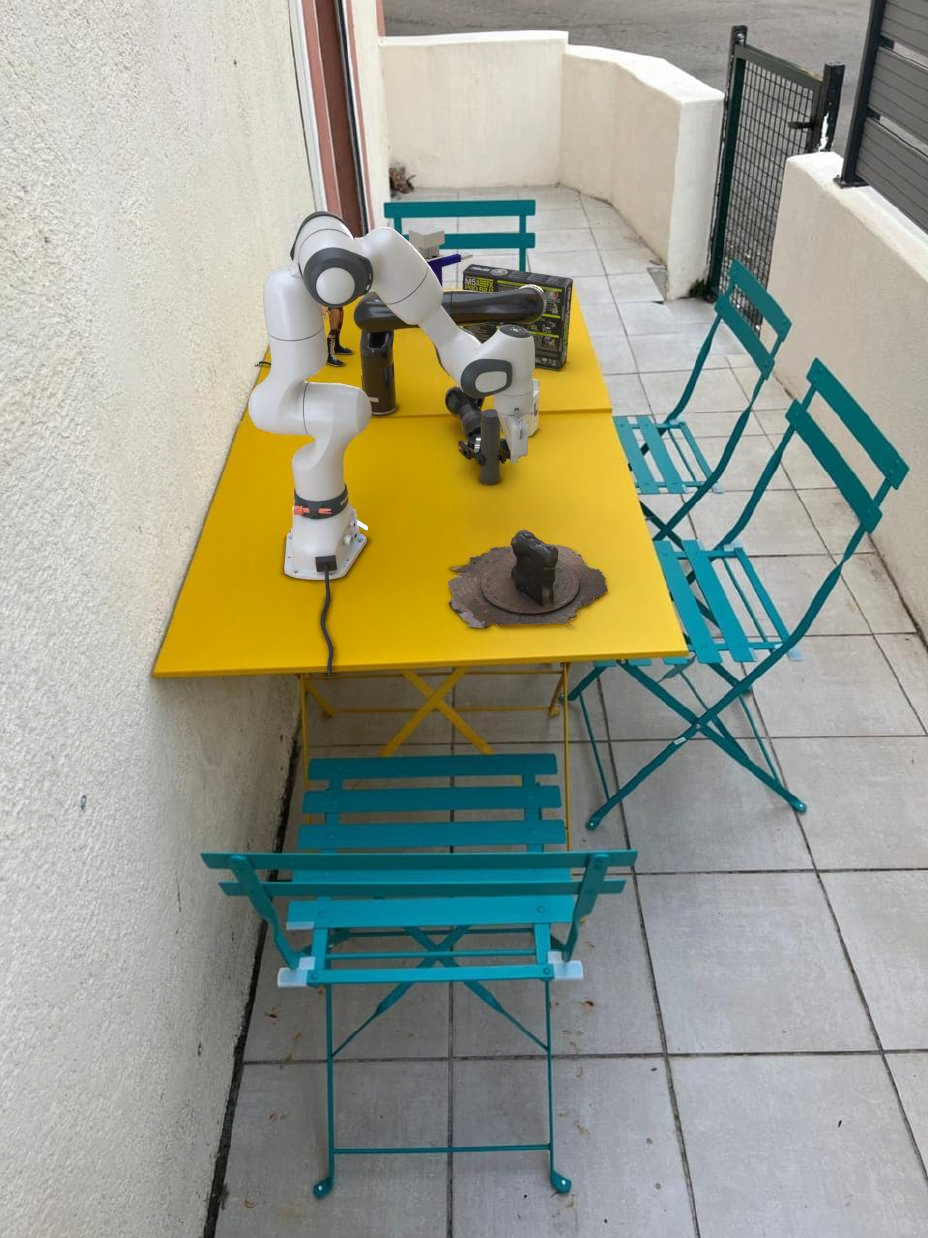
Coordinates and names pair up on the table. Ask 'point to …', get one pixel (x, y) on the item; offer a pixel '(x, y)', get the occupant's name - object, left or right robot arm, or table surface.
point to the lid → (504, 450)
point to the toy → (433, 248)
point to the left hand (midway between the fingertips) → (511, 453)
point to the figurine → (335, 334)
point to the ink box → (533, 410)
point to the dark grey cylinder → (490, 447)
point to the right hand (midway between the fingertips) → (492, 461)
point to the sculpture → (524, 584)
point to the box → (547, 329)
